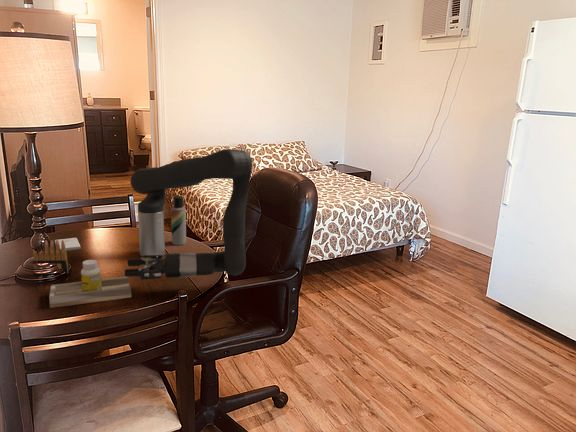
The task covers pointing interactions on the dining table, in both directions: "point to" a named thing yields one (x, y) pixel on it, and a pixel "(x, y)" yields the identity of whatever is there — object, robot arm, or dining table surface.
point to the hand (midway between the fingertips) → (126, 267)
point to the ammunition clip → (53, 255)
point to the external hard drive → (70, 244)
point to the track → (89, 292)
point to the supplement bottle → (90, 276)
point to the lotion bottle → (178, 221)
